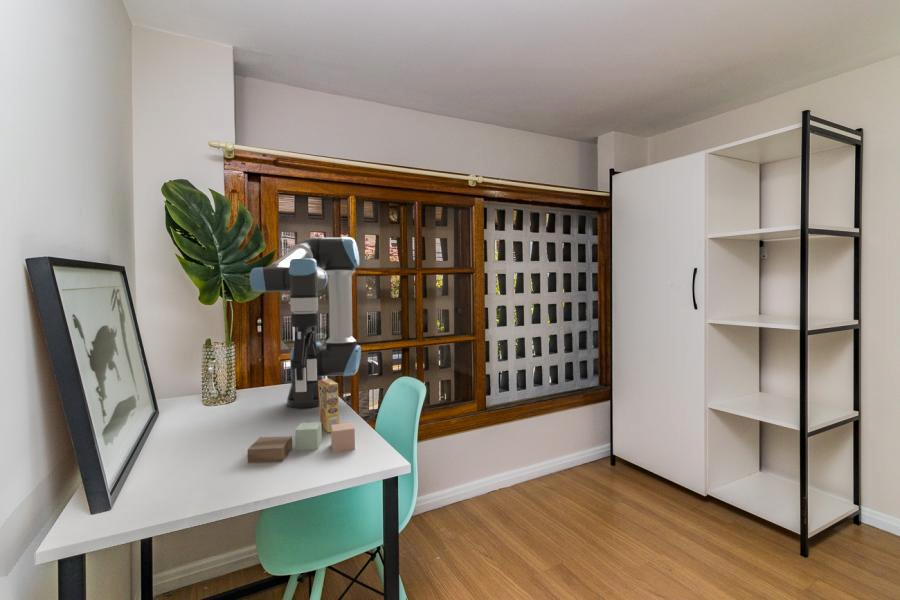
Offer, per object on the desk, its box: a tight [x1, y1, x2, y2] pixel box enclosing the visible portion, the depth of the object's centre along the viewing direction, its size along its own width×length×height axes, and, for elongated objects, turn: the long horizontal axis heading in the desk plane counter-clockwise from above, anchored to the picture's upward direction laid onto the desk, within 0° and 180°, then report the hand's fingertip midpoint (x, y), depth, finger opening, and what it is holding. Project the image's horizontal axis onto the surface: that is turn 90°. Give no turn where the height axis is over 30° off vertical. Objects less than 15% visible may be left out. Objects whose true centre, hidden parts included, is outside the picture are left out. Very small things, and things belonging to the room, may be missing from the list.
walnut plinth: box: [246, 435, 293, 464], centre depth 123 cm, size 9×9×4 cm
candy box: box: [318, 378, 340, 433], centre depth 144 cm, size 9×4×15 cm, turn 33°
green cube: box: [294, 421, 323, 451], centre depth 129 cm, size 6×6×6 cm
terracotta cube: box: [330, 421, 356, 453], centre depth 128 cm, size 6×6×6 cm
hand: (306, 385), depth 128 cm, fingers open, 13 cm apart
